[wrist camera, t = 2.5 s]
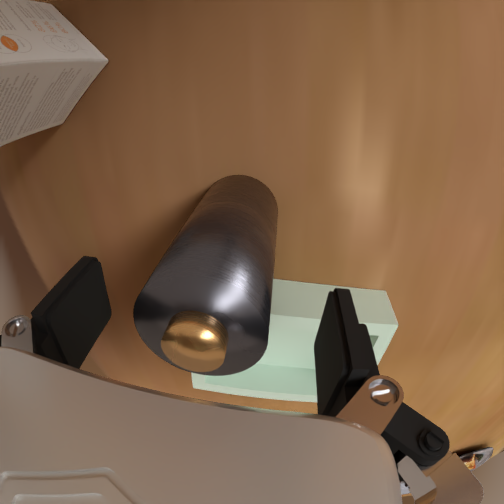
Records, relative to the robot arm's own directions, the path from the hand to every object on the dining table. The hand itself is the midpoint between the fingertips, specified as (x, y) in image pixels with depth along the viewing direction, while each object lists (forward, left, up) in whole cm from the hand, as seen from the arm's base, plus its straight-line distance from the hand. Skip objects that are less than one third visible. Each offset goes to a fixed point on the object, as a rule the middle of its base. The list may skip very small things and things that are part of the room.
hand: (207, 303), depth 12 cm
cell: (-1, 0, -8) cm, 8 cm away
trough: (+8, +4, -8) cm, 12 cm away
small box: (-11, -13, -8) cm, 18 cm away
